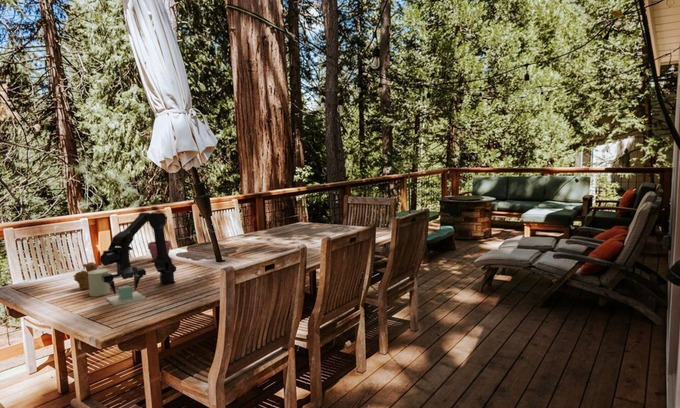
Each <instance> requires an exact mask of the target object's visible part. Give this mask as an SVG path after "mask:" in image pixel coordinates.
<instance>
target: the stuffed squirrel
mask: <svg viewBox="0 0 680 408" xmlns="http://www.w3.org/2000/svg"><path fill="white" fill-rule="evenodd" d="M82 265H83V268H85V270H81V271H78V272H76V273H75V274H74V275H73V276H72V277H73V279H74V281H75V282H77V284H78V286H79V288H80V289H82V290H89V280H88V272H89V271H93V270H98V269H100V268H101V267H100V266H99V265H97V263H95V262H93V261H92V262H88V263H83V264H82Z"/></svg>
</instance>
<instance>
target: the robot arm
mask: <svg viewBox="0 0 680 408" xmlns="http://www.w3.org/2000/svg"><path fill="white" fill-rule="evenodd" d="M147 222H148V223H149V226H150V227H151V228H152V230H153V235H154V240H155V241H154V242H155V243H156V250H157V257H156V259H154V262H153V263H154V265H153V267H155V269H156V271H157V273H160V274H159V275H158V276H159V278H158V279H159V283H160V284H161V285H162V286H163V285H165V286H166V285H169V284H174V283H176V281H175V274H174V273H175V272H176V271H177V266H175V264H174V263H173V261H172V258H171V257H170V254H169V255H168V254H167V249H166V242H165V241H166V235H165V226H166V223H167V217H166V214H165V213H163V212H157V211H156V212H139V214H138V216H137V217H136V218H135V219H134V220H132V222H131V223H130V224H129V225H128V226H127V227H126V228H125V229H124V230H122V231H120V232H118V233H117V234H115V235H114V236H113V237H112V240H111V242H110V244H109V247H108V249H107V250H103V251H102V254H101V255H100V258H99V261H100V263H101V265H102V266H103V267H105V266H110V265H113V264H116V274H112V273H111V272H110V273H109V272H108V274H103V275H102V276H101V280H102V281H103V282H106V283H107V284H109V288H110V289H111V290H112V293H113V294H114V295H117V292H116V291H117V290H116V287H115V280H114V279H119V278H122V280H127V279H133V286H134V291H137V288H138V285H139V282H140V280H141V279H142V278H144V276H146V275H147V270H146V269H145V268H142V267H139V268H138V266H131V262H130V261H131V260H130V259H131V258H130V251H133V247H131V246H130V245H131V244H132V242H133V241H134V236H135V235H136V234H137V233H138V232H139V231H140V230H141V229H142V227H144V226H145V224H146V223H147Z"/></svg>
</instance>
